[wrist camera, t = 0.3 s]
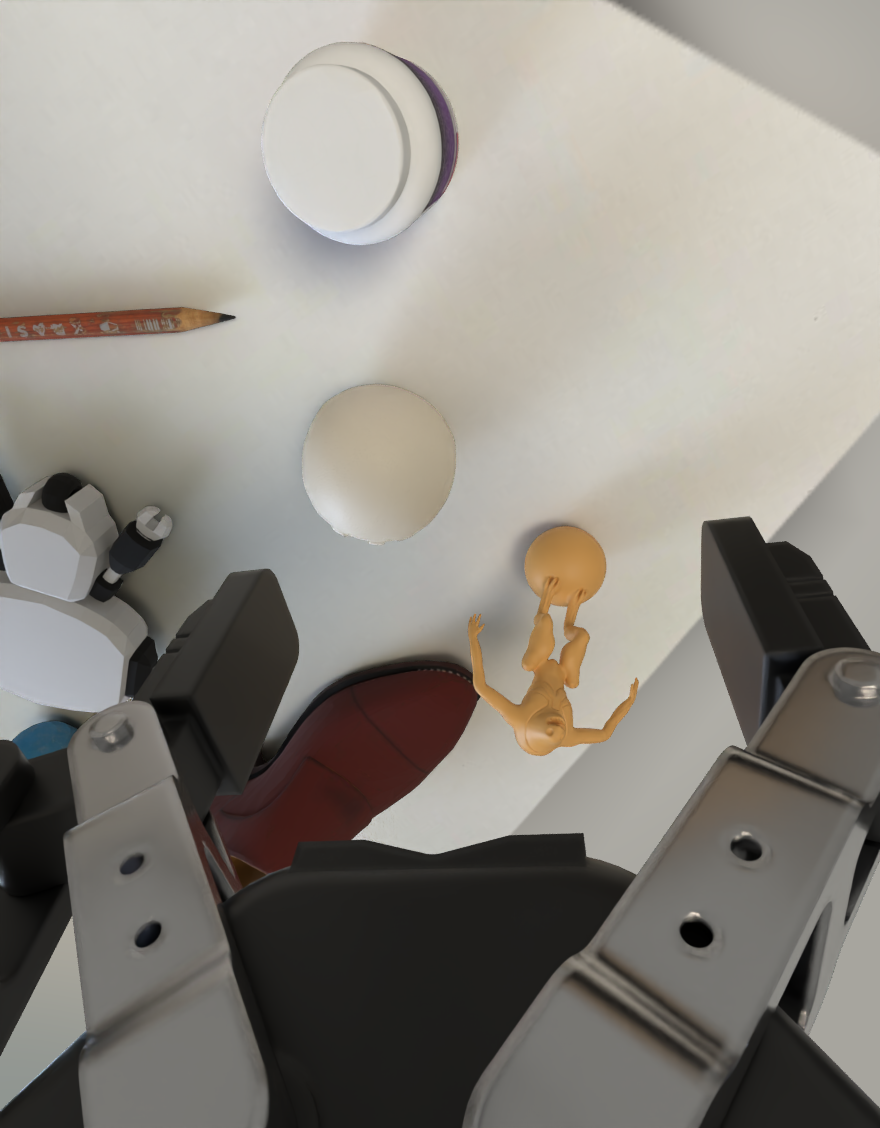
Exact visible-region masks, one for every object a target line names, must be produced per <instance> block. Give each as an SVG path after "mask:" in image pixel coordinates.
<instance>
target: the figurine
mask: <svg viewBox="0 0 880 1128" xmlns="http://www.w3.org/2000/svg"><path fill="white" fill-rule="evenodd" d="M605 574H606V559H605V555H604V552H603V550H602V548H601V546H600V544H599V543H598V542H597V540H596V539H595V538H594V537H593V536H591V535H590V534H589V533H587V532H586V531H584V530H581V529H579V528H575V527H570V526H561V527H556V528H552V529H549V530H547V531H545V532H544V533H542V534H541V535H539V536H538V537H537V538H536V539H535V540H534V541H533V543H532V544H531V546H530V547H529V549H528V552H527V554H526V558H525V575H526V578H527V581H528V583H529V585H530V587H531V589H532V590H533V591H534V593H535V594H536V595H537V596H538V597H540V598H541V601H540V605H539V608H538V612H537V615H536V616H535V617H534V625H535V627H534V629H533V631H532V633H531V635H530V639H529V644H528V648H527V650H526V653H525V654H524V656H523V659H522V667H523V669H524V670H526V671H533V672H534V674H535V676H534V679H533V681H532V685H531V686H530V687H529V689H528V691H527V694H526V695H525V696H524V698H523V700H522V703H521V704H520V705H516V704H513V703H512V702H510V701H509V700H508V699H506V698H505V697H504V696H502V695H501V694H500V693H498V692H497V691H496V690H494V689H493V688H491V687H489V686H488V685H487V684H486V683H485V675H484V670H483V664H482V653H481V648H480V645H479V642H478V639H477V635H478V633H479V632H480V631H481V630H482V629H483V627H484V625H485V624H483V625H482V626H481V627H478V625H479V622H480V618H481V614H480V615H479V617H478V619H477V621H476V622H475V618H476V614H474V616H473V619H472V617H470V620H469V625H468V636H469V640H470V654H471V660H472V667H473V685H474V688H475V690H476V691H477V693H478V694H479V695H480V696H481V697H482V698H483V699H484V700H485V701H486V702H487V703H488V704H490V705H491V706H492V707H493V708H494V709H496V710H497V711H498V712H499V713H500V714H501V715H502V717H503V718H504V720H505V721H506V722H507V723H508V724H509V725H511V726H512V727H513V729H514V733H515V737H516V740H517V742H518V744H519V746H520V747H521V748H522V749H523V750H524V751H526V752H527V753H529V754H531V755H536V756H544V755H547V754H549V753H550V752H552V751H553V750H554V749H556V748H557V747H572V746H575V745H578V744H591V743H600V742H604V741H606V740H608V739H609V738H610V737H611V735H612V733H613V731H614V729H615V727H616V726H617V724H618V723H619V722H620V721H621V720H622V718H623V717H624V716H625V715H626V714H627V713H628V711H629V709H630V707H631V705H632V704H633V703H634V700H635V698H636V694H637V688H638V684H639V682H638V680H637V677H636V678H635V682H634V685H633V684H631V688H630V695H629V697H628V699H627V700H625V701H624V702H623V703H621V704H620V705H619V706H618V707H617V709H616V710H615V711H614V712H613V714H612V716H611V717H610V719H609V720H608V721H607V722H606V723H605V725H604V727H603V729H602V730H599V729H589V728H574V727H573V716H572V707H571V704H570V702H569V700H568V698H567V696H566V692H565V691H564V685H566V686H567V687H569V688H576V687H577V686H578V685H579V674H580V666H581V663H582V661H583V658H584V656H585V652H586V647H587V644H588V642H589V639H590V636H589V634H588V632H587V631H586V630H585V629H584V628H580V627H576V626H573V625H574V622H575V619H576V615H577V612H578V609H579V606H580V604H581V603H583V602H585V601H587V600H589V599H590V598H591V597H593V596H594V595H595V594H596V593H597V591H598V590H599V589H600V587H601V585H602V583H603V581H604V578H605ZM550 604H553V605H556V606H563V607H568V608H567V613H566V617H565V622H564V636H565V637H566V639H567V640H569V641H570V642H569V643H567V644H566V645H565V646H564V647H563V648H562V650H561V654H560V662H559V664H558V663H557V661H556V660H554V659H550V660H548V658H549V656H550V655H551V653H552V651H553V649H554V646H555V640H554V636H553V622H552V619H551V616H550V615H549V614H548V610H549V607H550ZM471 620H472V623H471Z"/></svg>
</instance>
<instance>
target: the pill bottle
mask: <svg viewBox="0 0 880 1128" xmlns="http://www.w3.org/2000/svg"><path fill="white" fill-rule="evenodd" d="M458 149H459V136H458V127H457V122H456V118H455V114H454V111H453V108H452V106H451V103H450V101H449V99H448V97H447V96H446V94H445V92H444V91H443V89H442V88H441V86H440V85H439V84H438V83H437V81H436V80H435V79H434V78H433V77H432V76H431V75H430V74H429V73H427V72H426V71H425V70H424V69H422V68H421V67H419V66H417V65H416V64H414V63H412V62H410V61H408V60H405V59H403V58H400V57H398V56H395V55H393V54H391V53H389V52H387V51H385V50H383V49H380V48H378V47H376V46H373V45H369V44H366V43H357V42H340V43H333V44H329V45H326V46H323V47H321V48H318V49H316V50H314V51H312V52H311V53H309V54H308V55H306V56H305V57H304V58H303V59H301V60H300V61H299V62H298V63H297V64H296V65H295V66H294V67H293V68H292V69H291V71H290V72H289V73H288V75H287V76H286V78H285V79H284V81H283V83H282V85H281V86H280V87H279V88H278V90H277V91H276V93H275V94H274V96H273V97H272V99H271V101H270V103H269V105H268V108H267V110H266V113H265V117H264V122H263V127H262V155H263V160H264V165H265V169H266V172H267V175H268V178H269V180H270V183H271V185H272V187H273V188H274V190H275V192H276V194H277V195H278V197H279V199H280V200H281V201H282V203H283V204H284V205H285V206H286V207H287V208H288V209H289V210H290V211H291V212H292V213H293V214H294V215H295V216H296V217H297V218H299V219H300V220H302V221H303V222H304V223H306V224H307V225H309V226H310V227H311V228H313V229H314V230H315V231H317V232H318V233H320V234H322V235H323V236H325V237H328V238H330V239H332V240H335V241H338V242H341V243H345V244H351V245H369V244H376V243H379V242H382V241H386V240H388V239H390V238H393V237H394V236H396V235H398V234H400V233H401V232H402V231H404V230H405V229H407V228H408V227H409V226H410V225H411V224H412V223H414V222H415V221H416V220H417V219H418V218H419V217H420V216H421V215H423V214H424V213H425V212H426V211H427V210H428V209H430V208H431V207H432V206H433V205H434V204H435V203H436V202H437V200H438V199H439V198H440V197H441V196H442V194H443V193H444V192H445V190H446V188H447V187H448V185H449V183H450V181H451V178H452V176H453V173H454V170H455V167H456V163H457V158H458Z"/></svg>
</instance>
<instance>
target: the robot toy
mask: <svg viewBox="0 0 880 1128" xmlns="http://www.w3.org/2000/svg"><path fill="white" fill-rule="evenodd" d="M159 511H161V510H160V509H158V508H157V507H154V506H147V507H145V508H144V509H142V510H141V511H139V512H138V513H137V520H135V521H133V522H130V523H129V524H128V525H127V526H126V528H125V529H124V530H123V532H122V533H121V534H120V535H118V531H117V527H116V523H115V522H114V521H113V519H112V518H111V517H110V515H109V513H108V510H107V507H106V503H105V500H104V496H103V494H101V493H100V492H99V491H98V490H96V489H95V488H94V487H93V486H92V485H90V484H88V485H87V486H85V487H84V488H83V486H82V484H81V482H80V480H79V479H77V478H76V477H74V476H72V475H70V474H66V473H58V474H55V475H53V476H47V477H45V478H44V479H42V480H40V481H39V482H37V483H36V484H34V485H33V486H31V487H29V488H28V489H26V490H25V491H23V492H21V493H20V494H19V496H18V498H17V500H16V502H15V504H14V503H13V501H12V499H11V497H10V494H9V492H8V490H7V488H6V485H5V483H4V481H3V479H2V476H1V474H0V688H1V689H3V690H5V691H7V692H10V693H12V694H15V695H17V696H20V697H22V698H24V699H27V700H29V701H32V702H34V703H37V704H40V705H46V706H52V707H57V708H63V709H68V710H74V711H84V712H100V711H102V710H104V709H106V708H108V707H111V706H113V705H116V704H119V703H122V702H126V701H127V700H128V699H129V698H130V697H135V695H136V694H137V692H138V691H139V689H140V688H141V686H142V685H143V683H144V682H145V680H146V679H147V677H148V676H149V674H150V673H151V671H152V670H153V668H154V667H155V665H156V664H157V660H158V656H157V653H156V649H155V643H154V640H153V639H152V638H150V637H149V636H147V635H148V627H147V625H146V623H145V621H144V620H143V618H142V617H141V616H140V615H139V614H138V613H137V612H136V611H135V610H134V609H133V608H131V607H130V606H129V605H128V604H126V603H125V602H124V601H122V600H121V599H119V598H117V597H115V596H114V594H115V593H116V592H117V591H118V590H119V588H120V587H121V584H122V582H123V580H122V579H121V578H120V576H121V575H122V574H126V573H129V572H132V571H135V570H137V569H139V568H141V567H143V566H144V565H145V564H146V563H147V562H148V560H149V559H150V558H151V557H152V556H153V554H154V553H155V552H156V551H157V550H158V548H159V547H160V546H161V543H162V541H163V538H165V537H168V536H169V534H170V531H171V529H172V524H173V522H172V520H171V518H170V517H169V516H167V515H166V514H165V516H164V517H162V519H161V521H160V523H159V522H158V521H157V520H155V519H154V518H153V517H154V516H155V515H157V514H158V512H159Z"/></svg>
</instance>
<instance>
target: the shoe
mask: <svg viewBox="0 0 880 1128" xmlns="http://www.w3.org/2000/svg"><path fill="white" fill-rule="evenodd" d="M480 697H481V696H480V695H479V694H478V693H477V691H476V690H475V688H474V685H473V673H471V672H470V671H468V670H467V669H465V668H463V667H461V666H459V665H457V664H453V663H449V662H442V661H415V662H403V663H398V664H393V665H388V666H383V667H378V668H373V669H369V670H366V671H362V672H359V673H355V674H352V675H349V676H346V677H344V678H342V679H340V680H338V681H336V682H335V683H333V684H331V685H330V686H328V687H327V688H326V689H325V690H323V691H322V692H321V693H320V694H319V695H318V696H317V697H316V698H315V699H314V700H313V701H312V702H311V704H310V705H309V706H308V708H307V709H306V710H305V711H304V713H303V714H302V715H301V717H300V718H299V719H298V721H297V722H296V724H295V725H294V727H293V728H292V729H291V731H290V732H289V734H288V736H287V738H286V739H285V741H284V743H283V744H282V746H281V748H280V750H279V751H278V753H277V754H276V755H275V756H274V757H273V758H272V759H271V760H270V761H269V762H267V763H265V762H264V759H263V757H262V754H261V752H259V755H258V757H257V760H256V762H255V764H254V767H253V769H252V772H251V774H250V776H249V779H248V781H247V784H246V786H245V788H244V791H243V793H242V795H223V796H215V797H214V800H213V802H212V804H211V806H210V809H211V811H212V813H213V815H214V817H215V818H216V821H217V823H218V826H219V828H220V831H221V834H222V836H223V839H224V841H225V844H226V846H227V849H228V852H229V854H230V857H231V859H232V862H233V864H234V867H235V869H236V872H237V875H238V877H239V880H240V882H241V885H242V887H243V888H244V887H246V886H247V885H249V884H251V883H252V882H254V881H256V880H258V879H260V878H262V877H264V876H266V875H268V874H270V873H273V872H275V871H278V870H280V869H283V868H285V867H289V866H291V864H292V861H293V858H294V855H295V851H296V848H297V845H298V842H308V841H341V840H352V839H353V838H354V837H355V836H356V835H357V834H358V833H359V832H360V831H362V830H363V829H364V828H365V827H366V826H368V825H369V823H370V822H371V820H372V818H373V817H375V816H376V815H378V814H379V813H381V812H382V811H384V810H385V809H387V808H388V807H390V806H391V805H393V804H394V803H396V802H397V801H399V800H400V799H401V798H403V797H404V796H406V795H407V794H408V793H410V792H411V791H412V790H413V789H415V788H416V787H417V786H418V785H419V784H420V783H421V782H422V781H423V780H424V779H425V778H426V777H427V776H428V775H429V774H430V773H431V772H432V771H433V769H434V768H435V767H436V766H437V765H438V764H439V763H440V762H441V761H442V760H443V759H444V758H445V757H446V756H447V755H448V754H449V753H450V751H451V750H452V749H453V748H454V746H455V745H456V743H457V742H458V740H459V739H460V737H461V735H462V734H463V732H464V730H465V728H466V726H467V724H468V722H469V720H470V718H471V716H472V713H473V711H474V709H475V707H476V704H477V701H478V700H479V698H480Z"/></svg>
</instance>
